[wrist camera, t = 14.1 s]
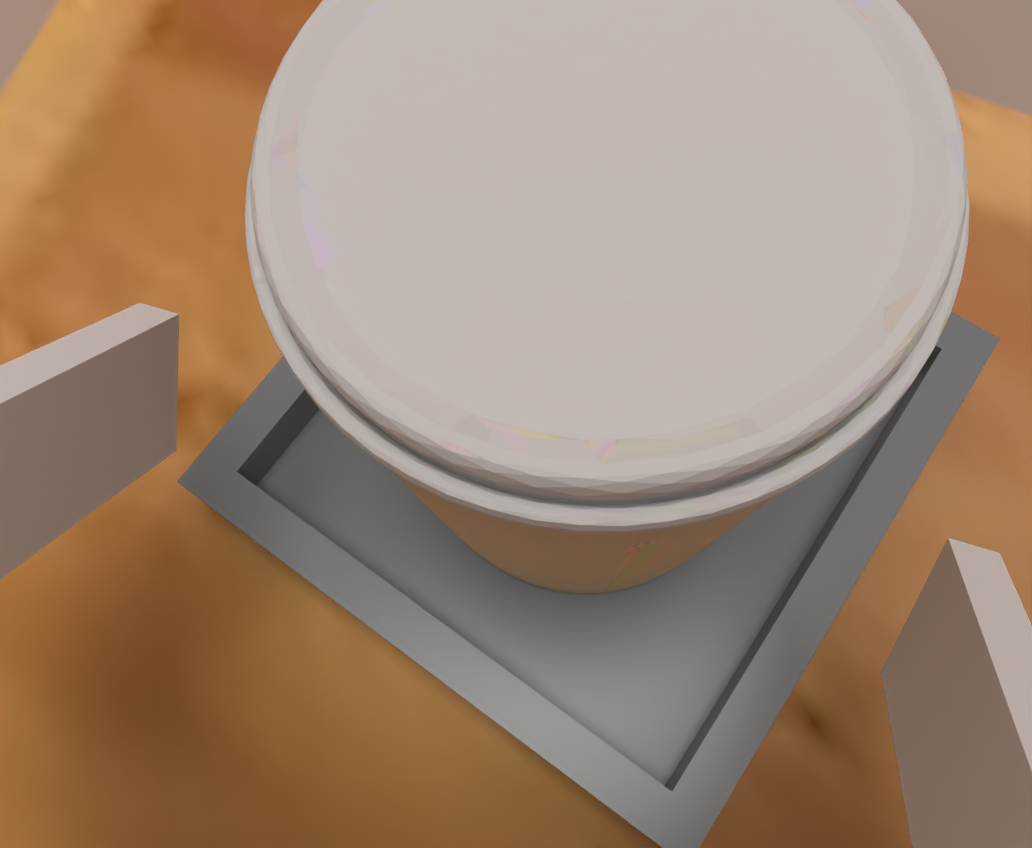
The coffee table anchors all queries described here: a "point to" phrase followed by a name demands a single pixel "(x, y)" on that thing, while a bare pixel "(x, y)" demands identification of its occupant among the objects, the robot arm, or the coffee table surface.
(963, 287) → the coffee table surface
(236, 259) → the coffee table surface
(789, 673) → the tray
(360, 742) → the coffee table surface
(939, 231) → the coffee cup
